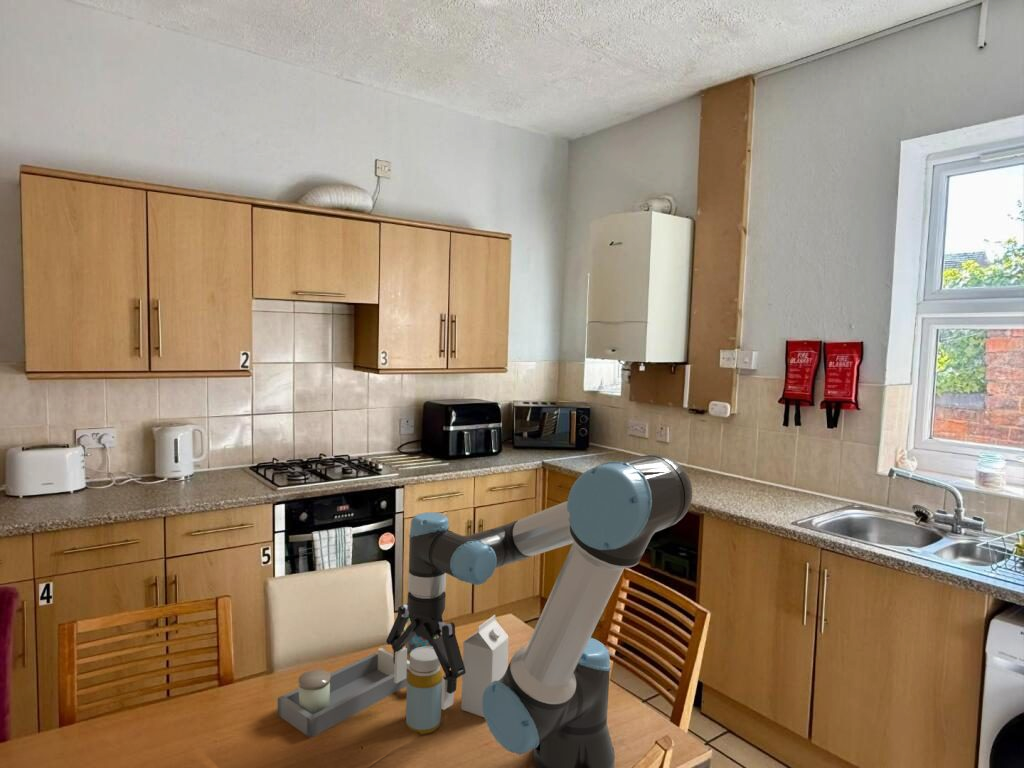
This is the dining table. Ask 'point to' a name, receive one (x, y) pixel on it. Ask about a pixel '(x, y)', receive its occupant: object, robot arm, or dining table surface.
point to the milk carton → (483, 663)
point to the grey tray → (341, 696)
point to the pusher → (387, 662)
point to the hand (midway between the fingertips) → (422, 693)
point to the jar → (314, 690)
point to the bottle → (424, 691)
